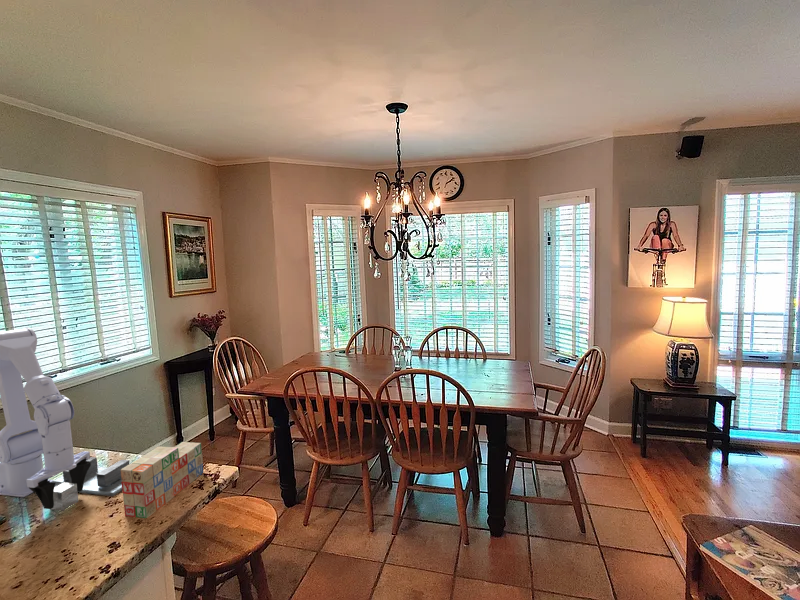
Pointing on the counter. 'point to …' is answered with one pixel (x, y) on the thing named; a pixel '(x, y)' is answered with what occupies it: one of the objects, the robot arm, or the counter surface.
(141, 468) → the stack of blocks
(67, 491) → the aluminium block
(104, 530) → the counter surface
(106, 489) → the base
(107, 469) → the block
